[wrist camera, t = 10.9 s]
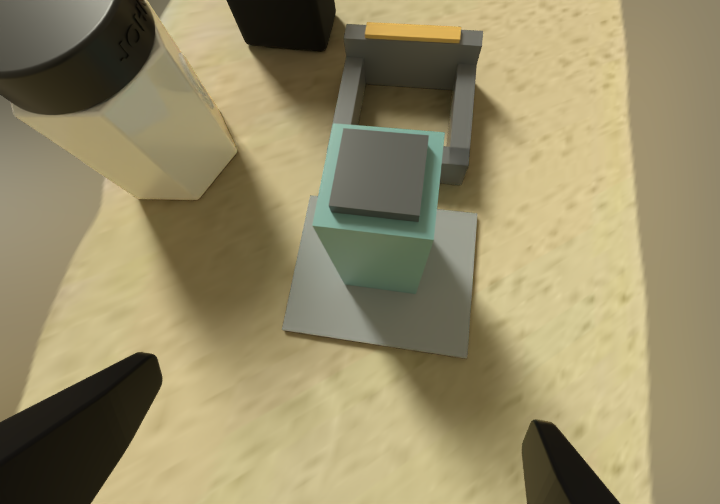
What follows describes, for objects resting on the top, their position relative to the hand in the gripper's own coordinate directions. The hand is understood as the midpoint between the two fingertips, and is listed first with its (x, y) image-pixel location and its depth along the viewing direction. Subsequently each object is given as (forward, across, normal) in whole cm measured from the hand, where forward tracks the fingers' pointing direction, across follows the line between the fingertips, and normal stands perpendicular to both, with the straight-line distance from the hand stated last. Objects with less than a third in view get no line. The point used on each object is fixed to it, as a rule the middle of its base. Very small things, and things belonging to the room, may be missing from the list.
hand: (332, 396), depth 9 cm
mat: (+14, 0, +5) cm, 15 cm away
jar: (+19, +16, 0) cm, 25 cm away
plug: (+15, 0, +4) cm, 15 cm away
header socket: (+22, 0, -3) cm, 22 cm away
